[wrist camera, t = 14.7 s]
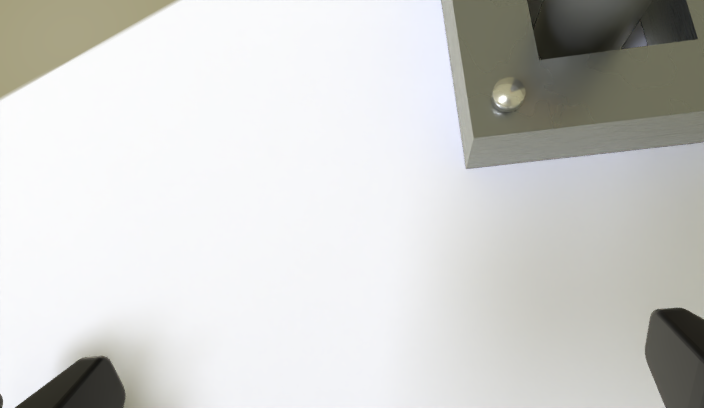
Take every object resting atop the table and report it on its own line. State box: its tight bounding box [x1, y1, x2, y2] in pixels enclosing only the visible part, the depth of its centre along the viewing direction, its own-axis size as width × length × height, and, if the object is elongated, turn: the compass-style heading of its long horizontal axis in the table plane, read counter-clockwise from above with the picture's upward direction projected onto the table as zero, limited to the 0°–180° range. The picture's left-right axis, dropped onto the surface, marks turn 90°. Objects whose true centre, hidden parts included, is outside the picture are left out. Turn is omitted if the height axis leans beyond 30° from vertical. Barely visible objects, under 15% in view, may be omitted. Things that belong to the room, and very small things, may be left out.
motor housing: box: [441, 0, 704, 169], centre depth 22 cm, size 12×12×4 cm
